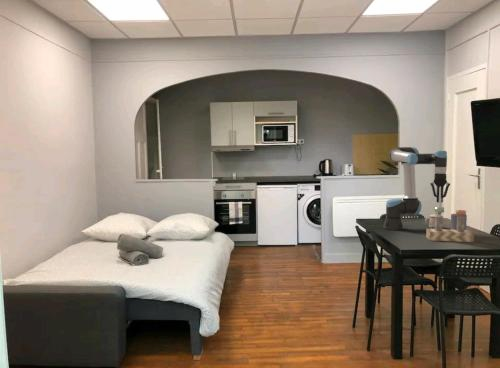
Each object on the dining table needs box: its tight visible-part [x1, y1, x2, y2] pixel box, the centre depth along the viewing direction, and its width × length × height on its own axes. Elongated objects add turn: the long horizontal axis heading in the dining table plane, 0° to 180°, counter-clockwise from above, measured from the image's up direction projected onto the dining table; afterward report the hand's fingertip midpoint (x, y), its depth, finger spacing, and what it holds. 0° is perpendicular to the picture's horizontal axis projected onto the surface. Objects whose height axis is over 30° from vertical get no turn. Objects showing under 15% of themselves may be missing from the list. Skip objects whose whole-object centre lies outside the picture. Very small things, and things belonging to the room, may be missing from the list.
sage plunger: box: [434, 206, 445, 217], centre depth 300 cm, size 6×6×14 cm
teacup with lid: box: [424, 212, 438, 228], centre depth 348 cm, size 12×9×12 cm
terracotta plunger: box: [455, 209, 467, 217], centre depth 297 cm, size 6×6×14 cm
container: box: [450, 213, 468, 230], centre depth 314 cm, size 10×10×15 cm
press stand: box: [425, 215, 475, 243], centre depth 299 cm, size 28×12×16 cm, turn 78°
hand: (439, 207), depth 299 cm, fingers closed
